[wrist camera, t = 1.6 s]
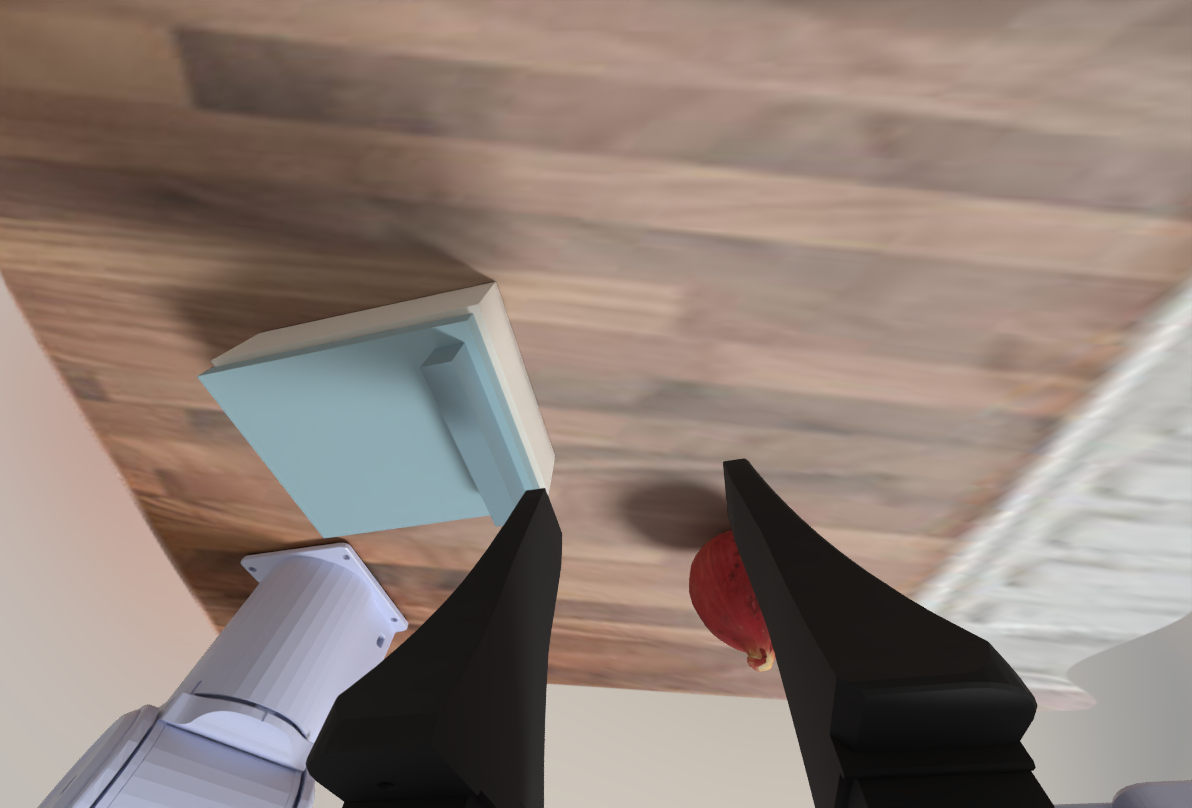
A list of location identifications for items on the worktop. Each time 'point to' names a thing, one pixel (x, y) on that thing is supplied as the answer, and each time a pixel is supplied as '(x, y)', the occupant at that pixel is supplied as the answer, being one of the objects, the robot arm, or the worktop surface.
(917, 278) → the worktop surface
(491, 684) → the robot arm
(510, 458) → the lid
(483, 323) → the box
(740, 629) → the onion
